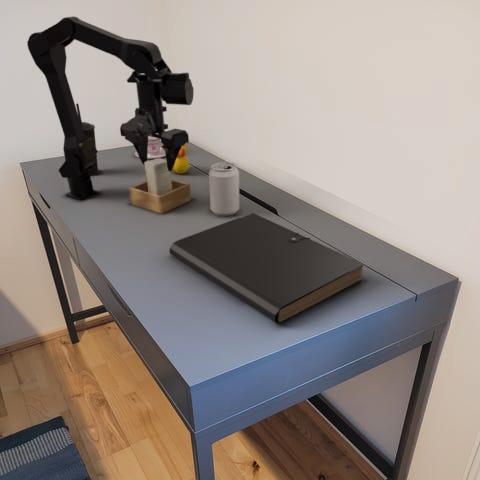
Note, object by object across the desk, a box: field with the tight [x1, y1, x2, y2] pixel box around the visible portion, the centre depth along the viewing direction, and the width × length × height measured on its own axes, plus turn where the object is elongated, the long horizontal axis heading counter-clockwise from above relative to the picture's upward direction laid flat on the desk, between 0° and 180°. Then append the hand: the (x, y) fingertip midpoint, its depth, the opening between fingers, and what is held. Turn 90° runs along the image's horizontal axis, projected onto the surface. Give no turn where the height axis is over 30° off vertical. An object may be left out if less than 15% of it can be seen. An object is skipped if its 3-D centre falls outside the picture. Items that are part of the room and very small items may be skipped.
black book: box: [169, 212, 365, 324], centre depth 99 cm, size 33×4×24 cm
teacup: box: [134, 133, 166, 160], centre depth 164 cm, size 12×12×6 cm
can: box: [208, 161, 240, 217], centre depth 121 cm, size 8×8×12 cm
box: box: [144, 157, 172, 196], centre depth 127 cm, size 5×4×11 cm
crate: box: [128, 178, 192, 215], centre depth 129 cm, size 11×11×4 cm
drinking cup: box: [75, 103, 99, 176], centre depth 144 cm, size 8×8×20 cm
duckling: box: [172, 143, 190, 175], centre depth 147 cm, size 11×5×10 cm, turn 22°
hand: (157, 167), depth 125 cm, fingers open, 9 cm apart
